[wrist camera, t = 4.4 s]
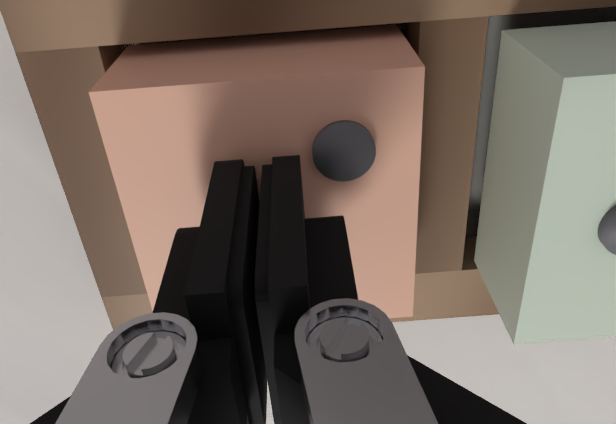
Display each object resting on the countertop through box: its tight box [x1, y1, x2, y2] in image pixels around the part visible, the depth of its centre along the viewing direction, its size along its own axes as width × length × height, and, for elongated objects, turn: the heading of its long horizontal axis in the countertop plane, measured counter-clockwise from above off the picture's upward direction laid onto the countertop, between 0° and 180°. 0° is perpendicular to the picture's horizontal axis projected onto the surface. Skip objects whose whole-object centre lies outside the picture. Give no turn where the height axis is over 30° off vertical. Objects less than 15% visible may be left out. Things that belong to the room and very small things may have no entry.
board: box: [0, 0, 616, 330], centre depth 14 cm, size 26×10×2 cm, turn 94°
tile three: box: [89, 25, 425, 318], centre depth 13 cm, size 6×6×3 cm
